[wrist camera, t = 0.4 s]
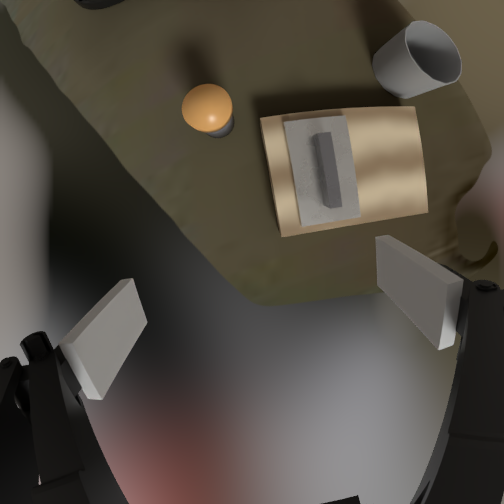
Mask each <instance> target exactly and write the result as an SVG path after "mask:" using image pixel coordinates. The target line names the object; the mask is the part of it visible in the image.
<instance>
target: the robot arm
mask: <svg viewBox="0 0 504 504" xmlns="http://www.w3.org/2000/svg"><path fill="white" fill-rule="evenodd" d="M74 1H75V2H76V3H78V4H79V5H80V6H81V7H83V8H86V9H102V8H106V7H109V6H112V5H115V4H117V3H119V2H122V1H124V0H74ZM376 256H377V285H378V286H379V287H380V288H381V289H382V290H383V291H384V292H385V293H386V294H387V295H388V296H389V297H390V298H391V299H392V301H393V302H394V303H395V304H396V305H397V306H398V307H399V308H400V309H401V310H402V311H403V312H404V313H405V314H406V315H407V316H408V317H409V318H410V320H411V321H412V322H413V323H414V324H415V325H416V326H417V327H418V328H419V329H420V331H421V332H422V333H423V334H424V335H425V336H426V337H427V338H428V339H429V340H430V342H431V343H432V344H433V345H434V346H435V347H436V348H437V349H438V350H441V349H443V348H446V347H449V346H451V345H453V344H454V339H455V334H456V331H457V332H458V333H459V334H460V335H461V341H460V346H459V351H458V354H457V364H456V369H455V375H454V379H453V384H452V389H451V393H450V397H449V401H448V405H447V409H446V412H445V416H444V419H443V423H442V426H441V429H440V432H439V435H438V438H437V441H436V444H435V447H434V450H433V453H432V456H431V458H430V461H429V464H428V466H427V469H426V471H425V473H424V476H423V478H422V481H421V483H420V485H419V487H418V490H417V491H416V494H415V495H414V497H413V499H412V501H411V502H410V504H501V501H502V496H503V492H504V289H503V290H500V287H499V285H497V284H496V283H494V282H492V281H488V280H477V281H474V282H472V281H470V280H469V279H467V278H465V277H464V276H462V275H461V274H459V273H457V272H456V271H453V269H451V268H449V267H448V266H445V265H442V264H439V263H436V262H434V261H433V260H431V259H429V258H428V257H426V256H424V255H423V254H421V253H419V252H418V251H416V250H414V249H412V248H411V247H409V246H407V245H405V244H404V243H402V242H400V241H398V240H397V239H395V238H393V237H391V236H389V235H384V236H378V237H376ZM146 324H147V320H146V317H145V314H144V311H143V308H142V305H141V302H140V299H139V297H138V293H137V290H136V287H135V284H134V280H133V278H131V279H125V280H121V281H120V282H119V283H118V284H117V285H115V286H114V287H113V288H112V289H111V290H110V291H109V292H108V293H107V294H106V295H105V296H104V297H103V298H102V299H101V300H100V301H99V302H98V303H97V304H96V305H95V306H94V307H93V308H92V309H91V310H90V311H89V312H88V313H87V314H86V315H85V316H84V317H83V318H82V319H81V320H80V321H79V322H78V323H77V325H76V326H75V327H74V328H73V329H72V330H71V331H70V332H69V333H68V334H67V335H66V336H65V337H64V338H63V339H62V340H61V341H60V342H59V345H58V346H57V347H56V348H55V349H53V347H52V345H51V343H50V341H49V339H48V337H47V335H46V333H45V332H43V331H39V332H35V333H32V334H30V335H29V336H27V337H26V338H24V339H23V340H22V341H21V343H20V346H21V347H22V349H23V351H24V353H25V355H26V357H27V359H28V361H29V365H25V366H22V365H21V364H20V362H19V360H18V358H17V357H9V358H5V359H3V360H2V361H1V362H0V504H129V503H128V501H127V500H126V498H125V496H124V494H123V492H122V491H121V489H120V487H119V485H118V483H117V481H116V479H115V478H114V475H113V474H112V472H111V469H110V467H109V465H108V463H107V461H106V459H105V457H104V455H103V452H102V450H101V448H100V446H99V443H98V441H97V439H96V436H95V434H94V432H93V429H92V427H91V424H90V422H89V419H88V416H87V413H86V411H85V408H84V405H83V402H82V400H81V398H80V396H79V395H78V392H79V391H80V390H81V388H82V389H83V391H84V393H85V394H86V396H87V398H88V399H98V400H102V399H103V398H104V396H105V394H106V392H107V390H108V389H109V387H110V385H111V383H112V382H113V380H114V378H115V376H116V375H117V373H118V371H119V369H120V367H121V366H122V364H123V362H124V361H125V359H126V357H127V356H128V354H129V352H130V350H131V349H132V347H133V345H134V344H135V342H136V340H137V339H138V337H139V335H140V334H141V332H142V330H143V329H144V327H145V325H146ZM15 402H16V403H15ZM17 405H18V406H17ZM18 407H19V408H18ZM39 476H40V481H41V485H39V484H38V482H39ZM323 504H360V501H359V497H358V495H357V496H353V497H349V498H345V499H342V500H337V501H332V502H328V503H323Z"/></svg>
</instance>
